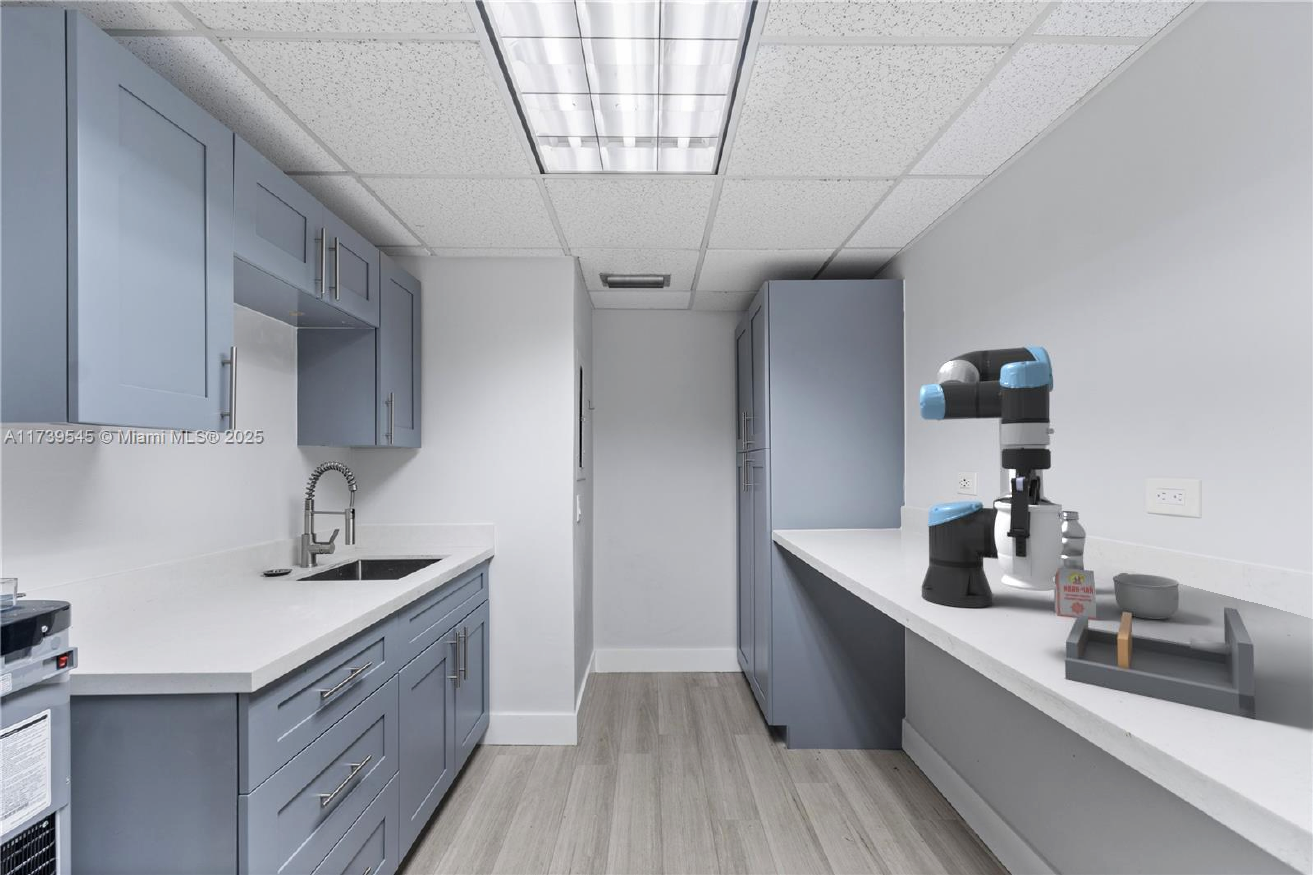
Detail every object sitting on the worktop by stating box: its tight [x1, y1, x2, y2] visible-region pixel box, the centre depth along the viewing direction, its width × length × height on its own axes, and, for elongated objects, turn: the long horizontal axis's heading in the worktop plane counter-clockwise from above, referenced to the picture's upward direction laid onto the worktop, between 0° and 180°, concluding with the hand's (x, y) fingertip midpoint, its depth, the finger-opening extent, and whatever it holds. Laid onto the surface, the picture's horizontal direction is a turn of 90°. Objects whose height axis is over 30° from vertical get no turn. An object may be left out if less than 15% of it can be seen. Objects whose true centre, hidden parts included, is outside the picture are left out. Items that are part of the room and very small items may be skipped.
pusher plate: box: [1117, 611, 1133, 669], centre depth 95 cm, size 1×18×6 cm, turn 139°
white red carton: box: [1053, 568, 1097, 621], centre depth 125 cm, size 4×7×10 cm, turn 63°
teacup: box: [1112, 572, 1180, 620], centre depth 126 cm, size 14×11×8 cm
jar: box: [994, 501, 1063, 592], centre depth 104 cm, size 11×10×15 cm
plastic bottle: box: [1053, 510, 1087, 581], centre depth 145 cm, size 6×7×20 cm
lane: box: [1064, 606, 1256, 720], centre depth 93 cm, size 21×22×10 cm
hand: (1027, 570), depth 104 cm, fingers closed on jar, 10 cm apart
